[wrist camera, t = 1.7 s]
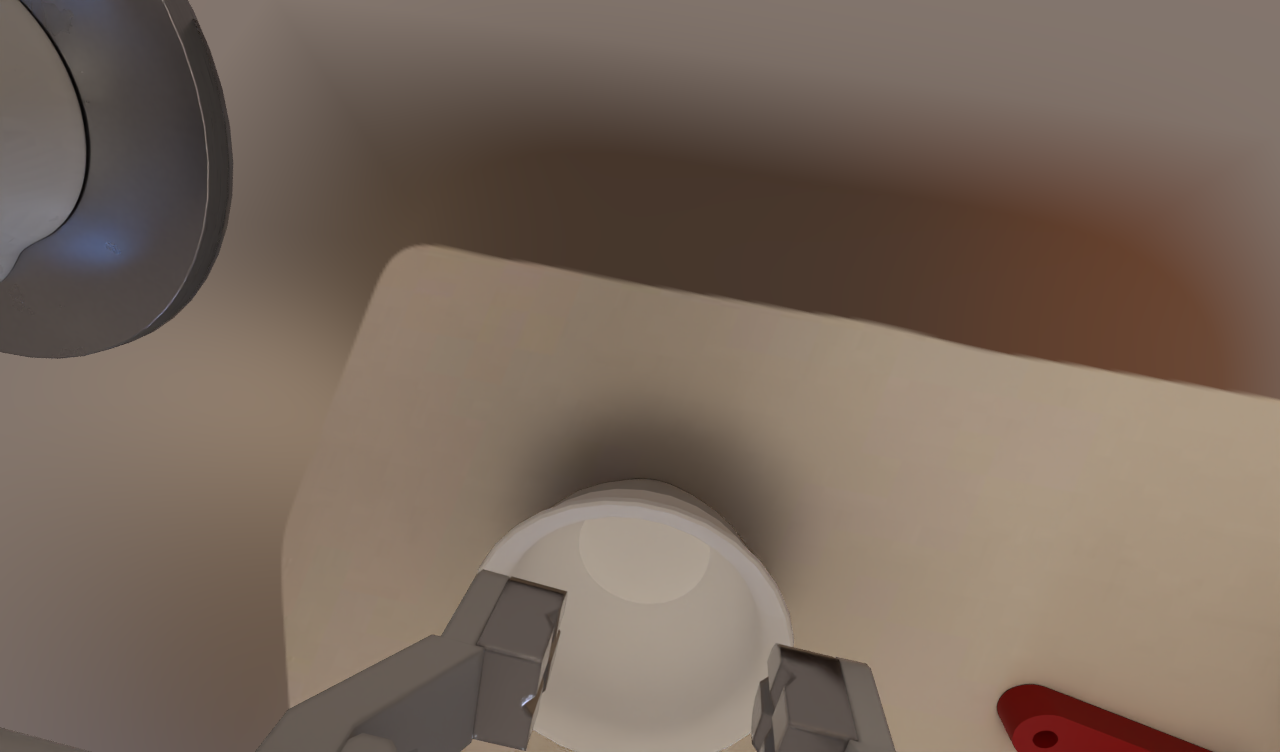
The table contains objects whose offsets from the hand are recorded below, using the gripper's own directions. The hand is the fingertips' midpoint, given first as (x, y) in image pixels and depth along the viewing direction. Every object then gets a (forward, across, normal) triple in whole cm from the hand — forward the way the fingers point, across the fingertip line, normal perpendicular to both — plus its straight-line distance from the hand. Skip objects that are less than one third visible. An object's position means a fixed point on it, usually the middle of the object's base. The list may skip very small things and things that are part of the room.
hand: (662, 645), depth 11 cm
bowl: (+24, 0, +15) cm, 29 cm away
